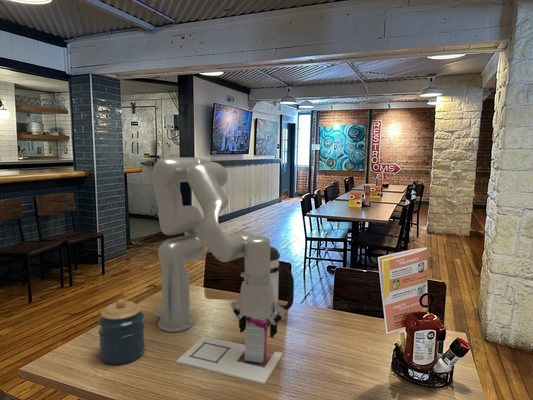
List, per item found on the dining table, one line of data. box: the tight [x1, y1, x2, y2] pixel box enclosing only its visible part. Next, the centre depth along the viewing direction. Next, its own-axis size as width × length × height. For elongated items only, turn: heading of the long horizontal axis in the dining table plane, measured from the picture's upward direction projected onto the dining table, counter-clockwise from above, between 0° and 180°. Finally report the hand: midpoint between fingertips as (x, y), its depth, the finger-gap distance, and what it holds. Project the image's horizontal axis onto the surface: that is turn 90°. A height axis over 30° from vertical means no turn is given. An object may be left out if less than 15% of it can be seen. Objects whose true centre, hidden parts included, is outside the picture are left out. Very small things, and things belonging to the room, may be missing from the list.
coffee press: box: [243, 245, 295, 327], centre depth 139 cm, size 17×16×30 cm
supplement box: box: [243, 317, 268, 365], centre depth 113 cm, size 6×6×12 cm
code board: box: [175, 335, 283, 386], centre depth 113 cm, size 28×16×1 cm, turn 70°
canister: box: [97, 298, 146, 366], centre depth 113 cm, size 13×13×18 cm
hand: (257, 333), depth 112 cm, fingers open, 9 cm apart
